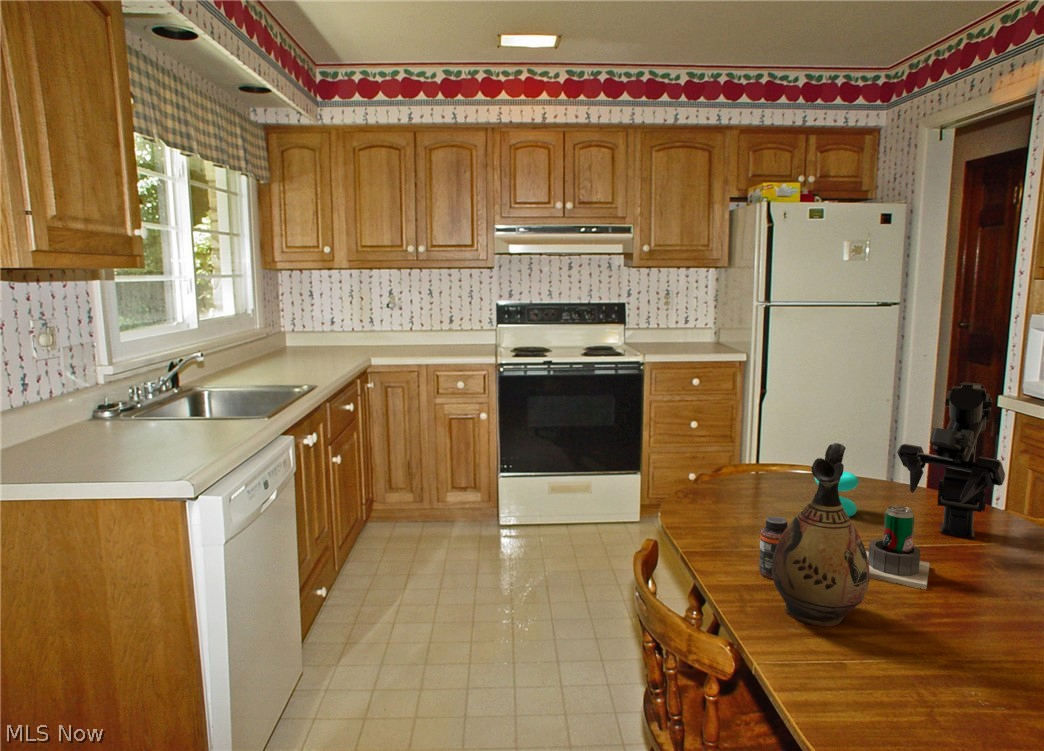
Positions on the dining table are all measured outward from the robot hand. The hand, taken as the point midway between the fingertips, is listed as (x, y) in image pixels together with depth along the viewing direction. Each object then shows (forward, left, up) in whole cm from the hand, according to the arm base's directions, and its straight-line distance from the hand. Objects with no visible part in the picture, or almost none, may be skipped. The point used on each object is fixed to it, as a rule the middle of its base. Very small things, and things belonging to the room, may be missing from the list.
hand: (935, 496), depth 138 cm
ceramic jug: (+37, -16, -14) cm, 42 cm away
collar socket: (+10, -6, -14) cm, 18 cm away
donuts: (-21, -22, -14) cm, 33 cm away
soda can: (+10, -6, -13) cm, 17 cm away
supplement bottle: (+25, -26, -14) cm, 38 cm away
